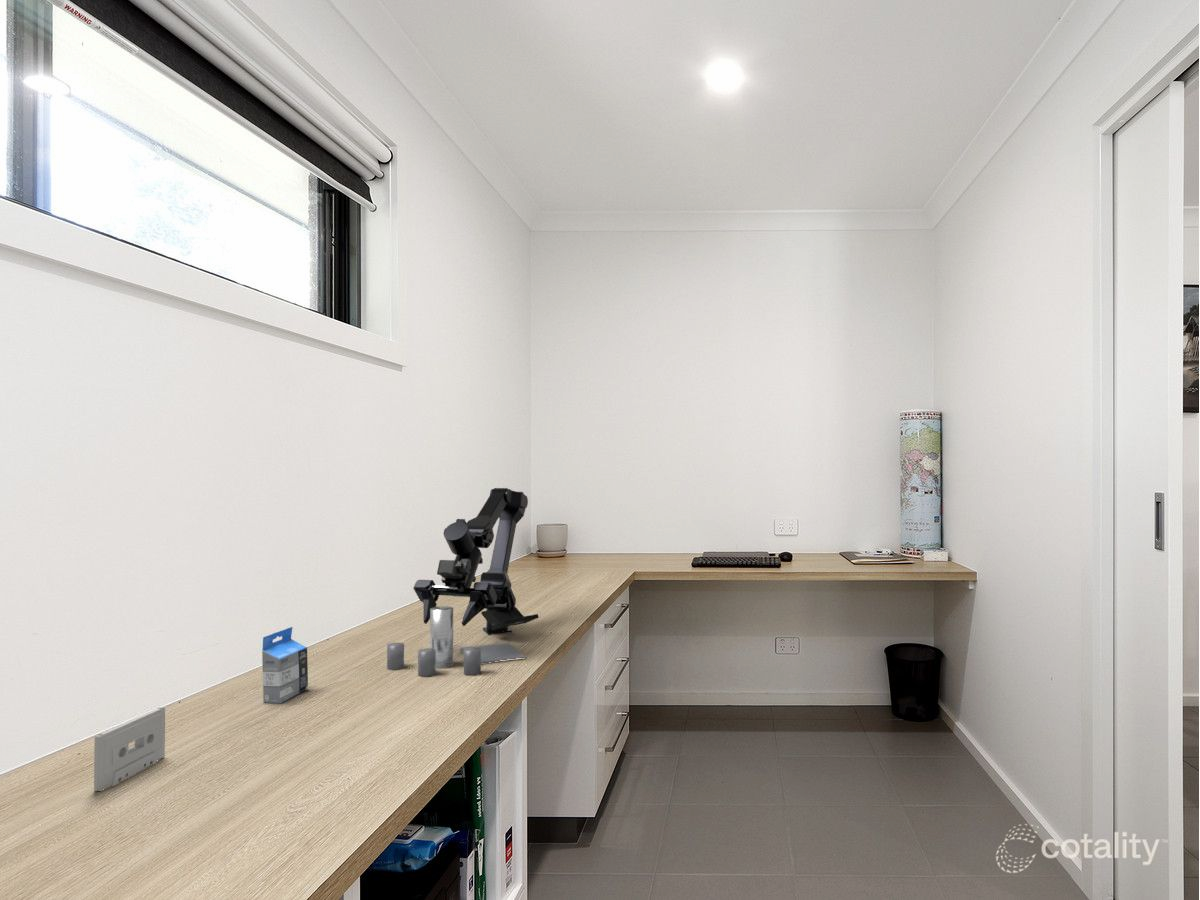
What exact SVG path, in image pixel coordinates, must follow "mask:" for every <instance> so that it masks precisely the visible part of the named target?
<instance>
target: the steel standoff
mask: <svg viewBox="0 0 1200 900" xmlns="http://www.w3.org/2000/svg"><path fill="white" fill-rule="evenodd" d="M429 629H430V630H429V635H430V636H429V642H430V643H429V648H432V649H435V650H436V670H438V669H448V668H451V667H453V666H454V607H453V606H448V605H445V606H444V605H443V606H442V605H441V606H436V607H433V608H431V609H430V619H429Z"/></svg>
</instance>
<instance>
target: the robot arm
mask: <svg viewBox="0 0 1200 900" xmlns="http://www.w3.org/2000/svg"><path fill="white" fill-rule="evenodd" d="M489 492H490V493H489V496H488V498H487V499H486V501H485V502H484V505H482V507H481V509H480V510H479V512H478V514H477V516H475V517H474V518H472V519H469V520H468V521H466V519H465V518H456V520H455V522H453V523H451V524H448V525H447V527H445V528H444V529H443V537H444V539H445V541H446V544H447V546H448V548H449V549H450V551H451V553H452V554H454V555H455V557H454V559H453V560H452V559H439V562H438V567H437V570H436V574H437V575H439V576H440V577H441V580H440V581H441V582H442V584H444V586H443V585H436V582H435V581H434V579H418V580H416V582H415V584H414V586H413V591H414V593H415V594H416V597H417V598H418V599H419V601H420V602H421V603H423V624H424V625H427V624H428V623H429V622H430V609H431V608H433V607H437V606H438V605H437V602H438V600H439V598H440V596H446V597H447V596H449V597H455V598H469V601H468V604H467V607H466V609H465V611H464V614H463V616H462V621H461V625H462V627H465V626H467V624H469V623H470V621H472V619H474V618H475V617H476V616H477V615H478V614H479V613H480V614H481V612H483V611H484V610H485V611H488V610H494V609H500V610H494V611H498V612H506V610H510V609H515V607H516V604H517V598H516V596H515V594H514V592H513V590H512V582H511V579H510V577H509V575H508V571H509V565H510V561H511V555H512V551H513V544H514V540H515V539H514V538H515V533H516V527H517V524H518V523H519V522H520V521H521V519H523V518H524V516H525V514H526V513H525V512H526V508H527V507H528V505H529V504H528V503H529V499H528V496H527V495H526V494H524V492H523V491H515V490H513V489H510V488H507V487H494V488H491V490H490V491H489ZM497 522H498V526H497V531H496V535H495V534H494V530H493V529H494V527H495V525H496V523H497ZM494 537H495V538H494ZM494 539H495V540H494ZM493 541H495V542H494V546H493V550H492V557H491V561H490V565H489V569H488V570H487V571H486V572H485V571H484V572H482V573H481V575H480V579H479V580H480V581H476V580H477V577H476V572H477V570H478V566H479V565H482V564H484V561H483V557H482V556H483V554H482V552H481V549H488V548H489V547H490V546H491V544H492V543H493ZM472 584H473V585H472ZM472 586H473V587H472ZM485 620H486V619H485ZM485 624H486V626H485V627H482V631H484V633H486V634H487V635H497V634H507V633H508V632H509V633H512V632H513V630H512V629H511V628H509V627H505V628H500V629H495V630H493V629H492V626H491V625H490V624H489V623H488V621H487V620H486V623H485Z"/></svg>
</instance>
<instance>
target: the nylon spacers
mask: <svg viewBox="0 0 1200 900" xmlns="http://www.w3.org/2000/svg"><path fill="white" fill-rule="evenodd" d="M470 647H471V648H466V649H464V654H463V675H464V676H468V675H473V676H477V674H479V675H481V673H482V664H481V649H480V648H477V647H473V646H470ZM417 655H418V656H417V660H418V661H417V675H418V676H419V677H422V678H423V677H424V678H427V677H428V676H429V677H433V676H435V675H436V674H437V673H436V671H437V668H436V650H435V649H432V648H430V647H427V648H421V649H418V651H417ZM404 668H405V643H404V642H391V643H388V644H386V669H387V670H389V671H395V670H401V669H404ZM429 677H428V678H429Z"/></svg>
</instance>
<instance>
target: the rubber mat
mask: <svg viewBox="0 0 1200 900" xmlns="http://www.w3.org/2000/svg"><path fill="white" fill-rule="evenodd" d="M471 647H477V648H480V649H481V665H483V664H482V663H487V664H490V663H489V662H495V661H500V660H507V659H516V658H525V657H526V656H525V655H524V654H522V652H520V651H519V650H518V649H517V648H515V647H514V646H513V645H512V644H511V643H510V642H506V643H505V642H504V643H495V644H486V645H485V644H484V645H474V646H473V645H472V646H464V647H459V650H460V652H461V653H462V654H463V655H464V649H466V648H471Z"/></svg>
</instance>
